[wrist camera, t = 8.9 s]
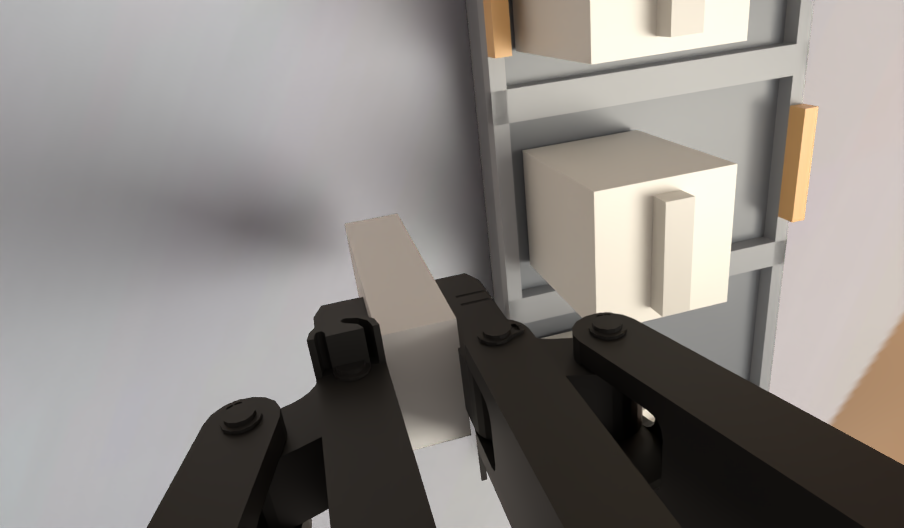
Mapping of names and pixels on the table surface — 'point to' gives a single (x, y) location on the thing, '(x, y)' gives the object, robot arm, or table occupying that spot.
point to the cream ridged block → (630, 224)
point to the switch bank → (668, 117)
